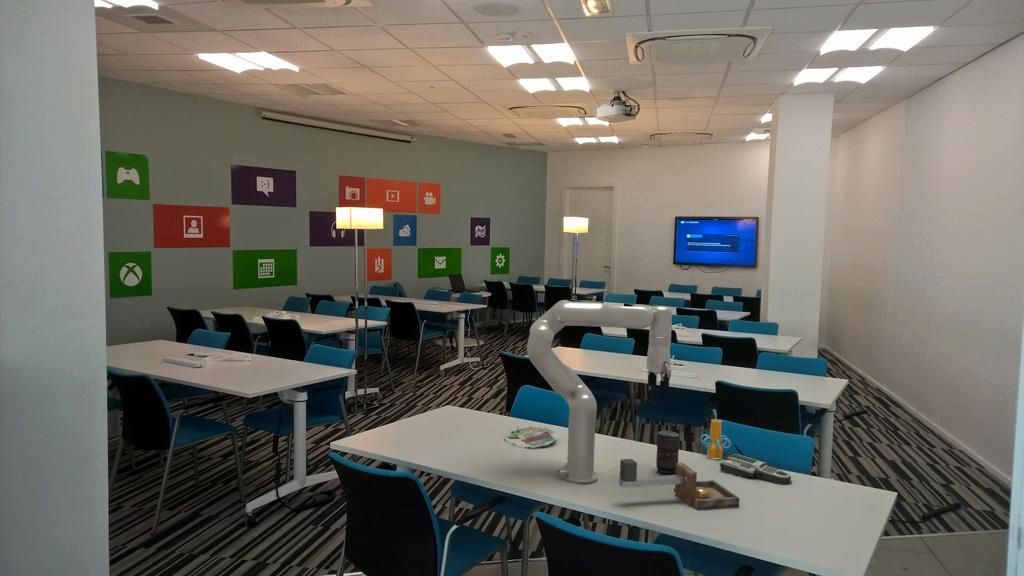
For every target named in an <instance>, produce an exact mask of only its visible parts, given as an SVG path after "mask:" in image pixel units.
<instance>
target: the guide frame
mask: <svg viewBox="0 0 1024 576" xmlns="http://www.w3.org/2000/svg"><path fill="white" fill-rule="evenodd" d="M697 474H698V473H697V472H696V471H695V470H694V469H692V468H691V467H689V466H688V465H686V464H685V463H683V462H678V463H676V474H675V475H682V476H684V477H685V484H674V488H673V493H674V495H675V496H676V497H677V498H678V499H680V500H681V501H682V502H683V503H684V504H686V505H687V506H688V507H693V508H694V509H695V510H696V511H703V510H705V511H707V510H715V509H716V510H717V509H731V508H732V509H733V508H740V497H738V495H736V494H734V493H732V491H730V490H729V489H728V488H725V487H724V486H723V485H721V484H719V483H718V482H717V481H715V480H713V479H711V480H697V478H698V477H697ZM696 487H704V488H707V489H708V498H706V499H700V498H696Z"/></svg>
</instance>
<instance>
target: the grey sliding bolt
mask: <svg viewBox="0 0 1024 576" xmlns="http://www.w3.org/2000/svg"><path fill="white" fill-rule="evenodd" d="M619 465H620V468H619V469H620V470H619V478H618V485H619V486H620V487H621V488H623V489H624V488H637V487H650V486H651V487H653V486H656V487H657V486H669V485H670V486H672V485H674V486H675V484H685V481H686V480H685V477H684V476H682V475H676V474H675V475H666V476H665V475H652V476H650V475H647V476H637V475H638V463H637V462H636V461H635V460H634V459H633V458H624V459H623V458H621V459H620V464H619Z"/></svg>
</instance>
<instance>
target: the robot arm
mask: <svg viewBox="0 0 1024 576" xmlns="http://www.w3.org/2000/svg"><path fill="white" fill-rule="evenodd" d="M672 319H673V309H672V308H671V307H670V306H665V305H653V306H651V305H643V304H634V305H631V306H622V305H621V306H620V305H614V304H608V303H604V302H594V301H591V302H590V301H589V302H587V301H570V300H568V299H563V300H562V299H561V300H559V301H558V302H556V303H555V304H554V305H553V306H552V307H551V308H549V309H548V310H547V311H546V312H545V313H543V314H542V315H541V316H540V317H539V318H538V319H536V320H535V321H534V322H533V323H532V324H531V326H530V328H529V337H528V340H527V344H526V349H527V350H526V351H527V355H528V358H529V361H530V362H531V364H533V366H534V367H535V368H536V369H537V371H538V372H539V374H541V375H540V376H542V377H543V378H544V380H545V381H546V382H547V384H548V385H549V386H550V387H551V389H552V390H553V391H554V392H555V393H557V394H559V395H560V396H561V397H562V399H564V400H565V402H566V403H567V404H568V407H569V409H568V410H569V414H568V415H569V416H568V426H567V427H568V429H567V430H568V431H567V432H568V433H567V458H566V459H567V460H566V461H567V462H566V463H564V465H563V466H554V468H553V472H554V473H555V474H556V473H558V474H559V475H562V478H563V480H565V481H567V482H569V483H574V484H584V485H585V484H592V483H594V482H597V481H598V478H599V476H598V474H597V473H596V472H595V470H594V469H595V468H594V467H595V444H596V443H595V441H596V437H595V436H596V420H597V413H598V412H597V411H598V405H597V401H596V398H595V396H594V394H593V393H592V391H591V390H590V388H589V387H588V386H587V385H586V384H585V382H583V380H582V379H581V378H580V377H579V376H578V374H577V373H576V372H575V371H574V370H573V368H571V367H570V366H569V365H568V364H565V363H563V362H562V360H561V359H560V358H559V357H558V355H557V354H556V353H555V352H554V351H553V349H552V343H553V340H554V337H555V335H556V334H557V333H559V332H560V331H561V330H562V329H563V328H564V327H565V326H570V327H571V326H574V327H577V326H578V327H580V326H582V327H600V328H601V327H602V328H617V329H620V328H621V329H641V330H642V329H646V328H648V327H649V334H648V349H647V355H646V365H645V367H646V369H647V386H649V387H650V386H651V387H653V386H654V387H655V386H657V381H658V380H657V379H658V375H659V376H660V380H659V392H660V393H669V391H670V380H671V376H672V373H673V372H672V371H673V370H672V368H671V346H672V344H671V343H672V321H673V320H672Z"/></svg>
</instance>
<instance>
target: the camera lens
mask: <svg viewBox="0 0 1024 576" xmlns="http://www.w3.org/2000/svg"><path fill="white" fill-rule="evenodd" d="M680 441H681V440H680V434H679V433H677V432H674V431H671V430H670V431H669V430H661V431H660V430H659V431H658V432H657V439H656V459H655V460H656V462H655V463H656V464H655V465H656V469H657V473H658V474H659V475H660V476H666V475H676V463H679V450H680Z"/></svg>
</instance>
